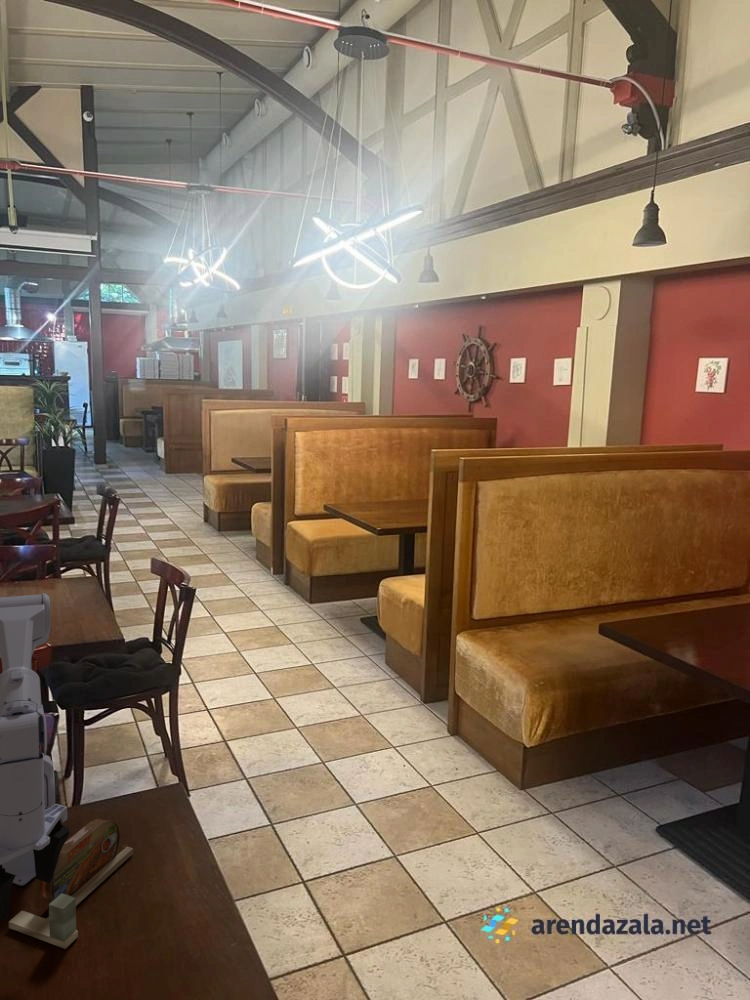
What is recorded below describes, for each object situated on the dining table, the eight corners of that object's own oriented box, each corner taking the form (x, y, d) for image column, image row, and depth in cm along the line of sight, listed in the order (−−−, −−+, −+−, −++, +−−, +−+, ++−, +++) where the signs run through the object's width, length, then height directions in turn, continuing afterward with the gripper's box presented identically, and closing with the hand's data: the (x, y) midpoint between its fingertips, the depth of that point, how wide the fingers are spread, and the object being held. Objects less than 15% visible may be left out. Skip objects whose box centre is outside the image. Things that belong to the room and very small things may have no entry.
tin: (53, 920, 104) (52, 867, 103) (36, 913, 105) (34, 861, 104) (121, 858, 118) (121, 811, 117) (106, 853, 119) (105, 806, 118)
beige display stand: (8, 927, 102) (7, 889, 101) (105, 845, 121) (105, 812, 120) (65, 949, 99) (64, 909, 98) (155, 860, 118) (156, 827, 117)
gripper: (-2, 843, 85) (2, 945, 87) (84, 782, 99) (86, 871, 101) (-47, 829, 87) (-43, 929, 89) (43, 771, 101) (45, 859, 103)
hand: (23, 897), depth 95 cm, fingers open, 7 cm apart
